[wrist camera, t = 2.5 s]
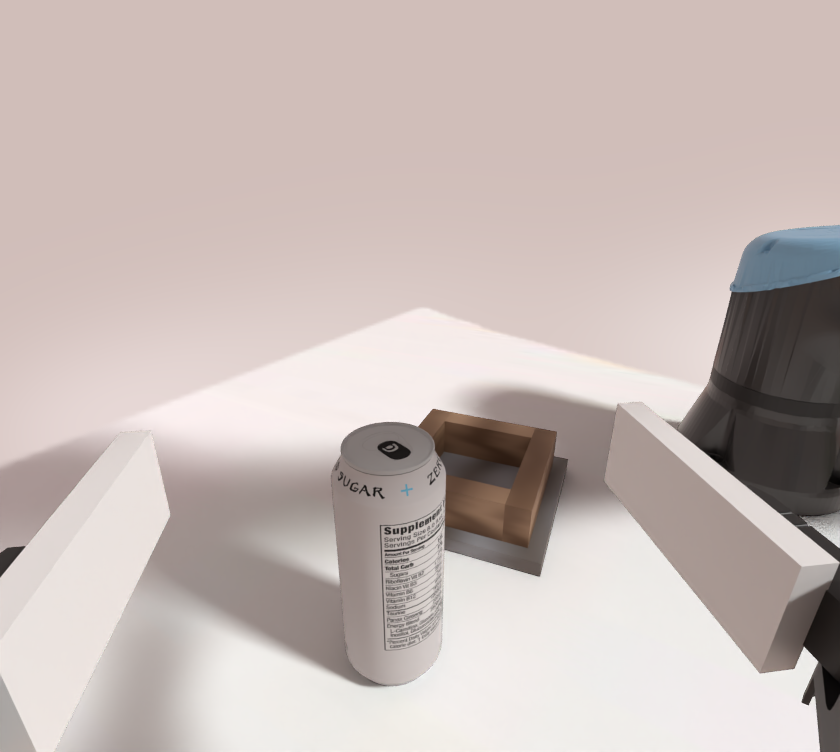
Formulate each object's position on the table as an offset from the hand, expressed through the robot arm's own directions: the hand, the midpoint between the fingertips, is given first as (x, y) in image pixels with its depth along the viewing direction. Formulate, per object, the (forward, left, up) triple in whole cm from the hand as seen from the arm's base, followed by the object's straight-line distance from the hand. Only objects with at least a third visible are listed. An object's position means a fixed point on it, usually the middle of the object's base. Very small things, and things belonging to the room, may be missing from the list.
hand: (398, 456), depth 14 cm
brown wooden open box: (+5, -26, -21) cm, 33 cm away
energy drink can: (+5, -9, -21) cm, 23 cm away
